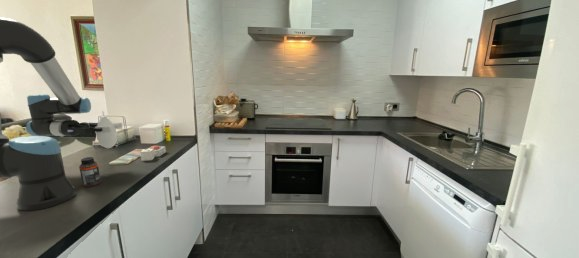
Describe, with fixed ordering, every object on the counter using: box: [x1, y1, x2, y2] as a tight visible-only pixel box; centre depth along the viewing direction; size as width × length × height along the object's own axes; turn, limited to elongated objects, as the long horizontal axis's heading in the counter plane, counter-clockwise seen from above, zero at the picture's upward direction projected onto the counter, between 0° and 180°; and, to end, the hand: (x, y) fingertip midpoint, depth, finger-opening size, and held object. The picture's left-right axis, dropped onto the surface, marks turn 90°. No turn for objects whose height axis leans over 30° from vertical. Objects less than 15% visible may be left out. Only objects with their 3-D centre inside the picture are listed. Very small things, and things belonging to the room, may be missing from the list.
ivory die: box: [140, 148, 155, 162], centre depth 132 cm, size 5×5×5 cm
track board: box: [108, 148, 144, 166], centre depth 136 cm, size 24×9×1 cm, turn 2°
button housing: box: [147, 145, 167, 158], centre depth 140 cm, size 8×8×4 cm
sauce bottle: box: [95, 111, 118, 149], centre depth 116 cm, size 8×8×18 cm
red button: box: [149, 145, 160, 150], centre depth 140 cm, size 5×5×3 cm
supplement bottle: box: [78, 156, 102, 188], centre depth 101 cm, size 6×6×11 cm
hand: (116, 127), depth 116 cm, fingers closed on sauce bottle, 7 cm apart
